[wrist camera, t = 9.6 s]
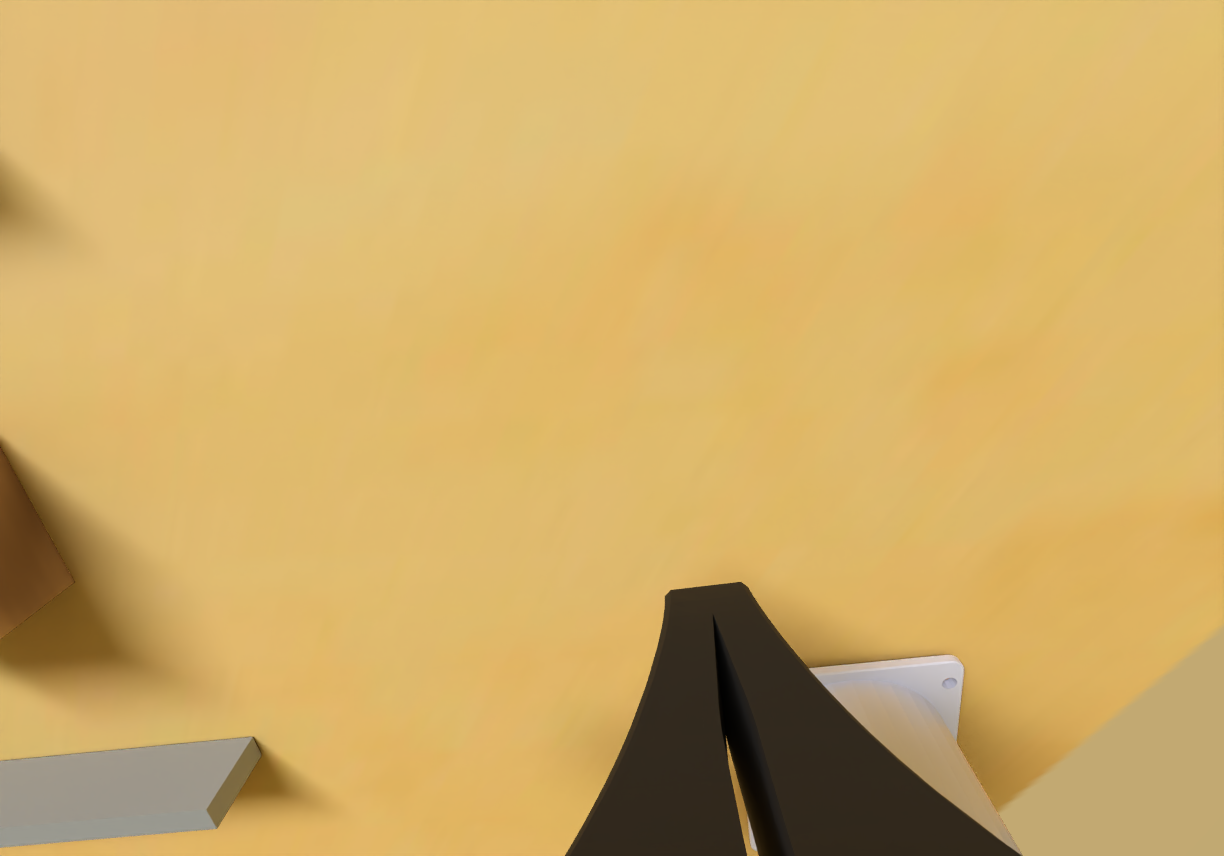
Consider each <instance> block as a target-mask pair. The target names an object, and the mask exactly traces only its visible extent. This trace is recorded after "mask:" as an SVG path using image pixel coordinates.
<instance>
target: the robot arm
mask: <svg viewBox="0 0 1224 856" xmlns="http://www.w3.org/2000/svg"><path fill="white" fill-rule="evenodd" d="M947 678H949V679H947ZM963 678H964V666H963V665H962V663H961V662H960V660H959V659H958V658H957V657H956V656H953V655H939V656H929V657H919V658H908V659H898V660H888V661H878V662H867V663H857V664H847V665H837V666H826V667H816V668H808V667H807V666H806V665H805V664H804V662H803V661H802V660H801V659H800V658H799V657H798V655H797V654H796V653H795V652H794V651H793V649H792V648H791V647H790V646H789V645H788V643H787V642H786V641H785V640H784V638H783V637H782V636H781V635H780V633H779V632H778V631H777V629H776V628H775V627H774V625H773V624H772V623H771V621H770V620H769V619H768V617H767V616H766V614H765V613H764V612H763V610H762V609H761V607H760V606H759V604H758V603H757V601H756V600H755V598H754V597H753V595H752V593H751V592H750V590H749V588H748V587H747V586H746V585H744V584H743V583H742V582H737V583H728V584H719V585H711V586H702V587H693V588H685V589H676V590H670V592H669V593H668V594H667V595H666V596H665V610H664V618H663V624H662V629H661V634H660V638H659V642H658V647H657V651H656V654H655V657H654V661H653V664H652V668H651V671H650V675H649V678H648V681H647V684H646V687H645V690H644V693H643V696H642V698H641V701H640V704H639V706H638V709H637V712H636V714H635V717H634V720H633V722H632V725H631V728H630V730H629V732H628V735H627V737H626V740H625V742H624V744H623V747H622V749H621V751H620V753H619V755H618V758H617V760H616V762H615V764H614V766H613V768H612V770H611V772H610V775H609V777H608V779H607V781H606V783H605V785H604V787H603V789H602V791H601V792H600V794H599V796H598V798H597V800H596V802H595V804H594V806H593V807H592V809H591V811H590V813H589V815H588V817H587V819H586V821H585V822H584V824H583V826H582V828H581V829H580V831H579V833H578V835H577V836H576V838H575V840H574V842H573V843H572V845H571V847H570V848H569V850H568V852H567V853H566V855H565V856H747V853H746V848H745V844H744V839H743V834H742V829H741V824H740V819H739V814H738V810H737V805H736V800H735V795H734V790H733V785H732V780H731V775H730V770H729V765H728V756H727V744H726V737H727V741H728V745H729V749H730V752H731V756H732V760H733V763H734V767H735V771H736V774H737V778H738V782H739V785H740V789H741V793H742V796H743V800H744V803H745V807H746V811H747V817H748V830H749V840H750V845H751V847H752V848H753V849H754V850H755V851H758V854H759V856H1022V854H1021V852H1020V850H1019V849H1018V847H1017V845H1016V843H1015V842H1014V840H1013V839H1012V836H1011V835H1010V833H1009V831H1008V830H1007V828H1006V826H1005V824H1004V823H1003V821H1002V819H1001V818H1000V816H999V814H998V813H997V811H996V809H995V807H994V806H993V804H992V802H991V801H990V799H989V797H988V795H987V794H986V792H985V790H984V789H983V787H982V785H981V783H980V782H979V780H978V778H977V777H976V775H975V773H974V772H973V770H972V768H971V766H970V765H969V763H968V761H967V760H966V758H965V756H964V754H963V753H962V751H961V749H960V748H959V746H958V744H957V734H958V725H959V715H960V706H961V697H962V687H963ZM945 679H947V680H945Z"/></svg>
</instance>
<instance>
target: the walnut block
mask: <svg viewBox="0 0 1224 856" xmlns="http://www.w3.org/2000/svg"><path fill="white" fill-rule="evenodd" d="M73 583H74V580H73V578H72V576H71V574H70V573H69V571H68V569H67V567H66V565H65V563H64V562H63V560H62V558H61V556H60V554H59V553H58V551H57V549H56V547H55V545H54V543H53V542H52V540H51V538H50V536H49V534H48V533H47V531H46V529H45V527H44V525H43V523H42V522H41V520H40V518H39V516H38V514H37V513H36V511H35V509H34V507H33V505H32V503H31V502H30V500H29V498H28V496H27V494H26V493H25V491H24V489H23V487H22V485H21V483H20V482H19V480H18V478H17V476H16V474H15V473H14V471H13V469H12V467H11V465H10V463H9V462H8V460H7V458H6V456H5V454H4V452H3V451H2V449H1V447H0V639H1V638H3V637H4V636H5V635H7V634H8V633H9V632H11V631H12V630H13V629H14V628H16V627H17V626H18V625H20V624H21V623H22V622H24V621H25V620H26V619H27V618H29V617H30V616H31V615H33V614H34V613H35V612H37V611H38V610H39V609H40V608H42V607H43V606H44V605H46V604H47V603H48V602H50V601H51V600H52V599H53V598H55V597H56V596H57V595H59V594H60V593H61V592H63V591H64V590H65V589H66V588H68V587H69V586H70V585H72V584H73Z"/></svg>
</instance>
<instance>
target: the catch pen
mask: <svg viewBox="0 0 1224 856" xmlns="http://www.w3.org/2000/svg"><path fill="white" fill-rule="evenodd" d="M260 757H261V753H260V751H259V749H258V747H257V745H256V743H255V741H254V739H253V737H247V738H236V739H226V740H215V741H205V742H194V743H184V744H174V745H163V746H153V747H142V748H132V749H121V750H111V751H101V752H90V753H80V754H69V755H59V756H48V757H38V758H28V759H17V760H7V761H0V848H1V847H13V846H24V845H36V844H47V843H59V842H70V841H82V840H93V839H105V838H116V837H128V836H139V835H151V834H163V833H174V832H186V831H197V830H209V829H217V828H218V826H219V825H220V823H221V821H222V820H223V818H224V817H225V815H226V813H227V812H228V810H229V808H230V807H231V805H232V803H233V802H234V800H235V798H236V797H237V795H238V793H239V792H240V790H241V788H242V787H243V785H244V783H245V782H246V780H247V778H248V777H249V775H250V773H251V772H252V770H253V768H254V767H255V765H256V764H257V762H258V760H259V759H260Z"/></svg>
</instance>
